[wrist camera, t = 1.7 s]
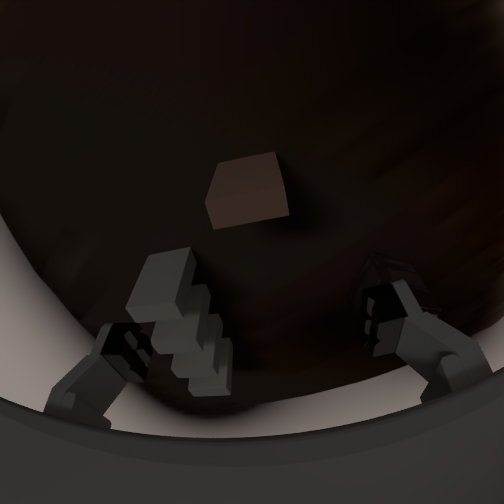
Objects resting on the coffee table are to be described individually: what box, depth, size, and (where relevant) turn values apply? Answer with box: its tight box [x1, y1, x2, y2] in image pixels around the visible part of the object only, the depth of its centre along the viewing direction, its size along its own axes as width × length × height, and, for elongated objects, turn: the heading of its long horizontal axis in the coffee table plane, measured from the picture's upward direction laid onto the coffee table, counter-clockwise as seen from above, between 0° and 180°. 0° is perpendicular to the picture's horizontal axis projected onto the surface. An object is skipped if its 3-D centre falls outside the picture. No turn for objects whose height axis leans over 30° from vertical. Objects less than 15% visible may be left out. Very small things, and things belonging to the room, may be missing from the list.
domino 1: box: [126, 247, 197, 323], centre depth 24 cm, size 2×4×7 cm, turn 102°
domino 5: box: [205, 152, 289, 229], centre depth 18 cm, size 2×4×7 cm, turn 102°
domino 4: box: [188, 338, 233, 396], centre depth 31 cm, size 2×4×7 cm, turn 102°
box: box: [346, 252, 441, 348], centre depth 25 cm, size 6×6×7 cm
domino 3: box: [171, 313, 223, 378], centre depth 29 cm, size 2×4×7 cm, turn 102°
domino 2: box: [151, 284, 211, 354], centre depth 26 cm, size 2×4×7 cm, turn 103°
